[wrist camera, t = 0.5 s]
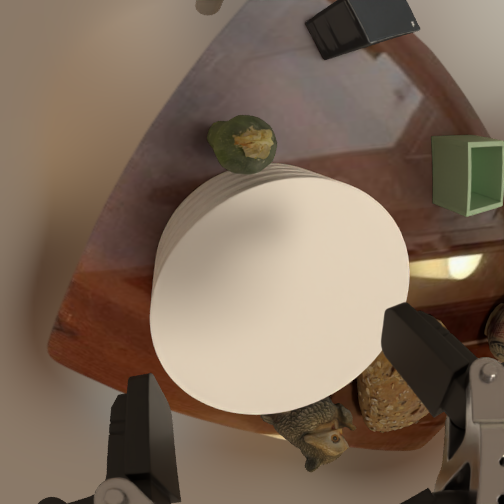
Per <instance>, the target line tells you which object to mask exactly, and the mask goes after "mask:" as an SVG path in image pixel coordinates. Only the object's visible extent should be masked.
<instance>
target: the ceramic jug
mask: <svg viewBox="0 0 504 504" xmlns="http://www.w3.org/2000/svg"><path fill="white" fill-rule="evenodd" d="M484 334H485V335H487V337H488V343H489V349H490V351H491V352H492V354H493V355H494V356H495V357H496V358H497V359H498V360H500V361H501V362H504V303H501V304H499V305H498V306H497V307H496V308H495V309H494V310H493V311H492V313H491V315H490V316H489V318H488V321H487V323H486V327H485V333H484Z"/></svg>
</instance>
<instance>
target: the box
mask: <svg viewBox="0 0 504 504" xmlns="http://www.w3.org/2000/svg"><path fill="white" fill-rule="evenodd" d="M306 26H307V28H308V30H309V31H310V33H311V35H312V37H313V39H314V41H315V43H316V44H317V46H318V48H319V50H320V52H321V54H322V56H323V58H324V60H327V59H330V58H333V57H336V56H340V55H343V54H346V53H349V52H352V51H355V50H358V49H361V48H364V47H367V46H371V45H374V44H377V43H380V42H383V41H386V40H389V39H393V38H396V37H399V36H402V35H406V34H410V33H413V32H416V31H419V30H420V27H419V25H418V23H417V21H416V19H415V17H414V15H413V13H412V11H411V9H410V7H409V5H408V3H407V1H406V0H337V1H336V2H334V3H333V4H331V5H330V6H328V7H327V8H325V9H324V10H322V11H321V12H319V13H318V14H316V15H315V16H314V17H312V18H311V19H310V20H308V21H307V22H306Z"/></svg>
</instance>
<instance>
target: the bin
mask: <svg viewBox="0 0 504 504" xmlns="http://www.w3.org/2000/svg"><path fill="white" fill-rule="evenodd" d="M431 141H432V165H433V204H436V205H438V206H441V207H444V208H446V209H448V210H451V211H453V212H456V213H458V214H461V215H463V216H465V217H468V216H471V215H474V214H478V213H481V212H484V211H488V210H491V209H494V208H497V207H501V206H502V205H503V191H504V141H501V140H497V139H492V138H486V137H480V136H474V135H452V136H431Z"/></svg>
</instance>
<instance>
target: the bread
mask: <svg viewBox="0 0 504 504" xmlns="http://www.w3.org/2000/svg"><path fill="white" fill-rule="evenodd" d="M436 320H437V319H436ZM437 321H438V322H439V323H441V324H442V322H441V321H439V320H437ZM442 327H445V326H444V325H443V324H442ZM445 328H446V327H445ZM357 387H358V399H359V405H360V409H361V410H360V411H361V412H362V416H363V420H364V422H365V424H366V425H367V427H368V428H369V429H371V430H373V431H380V432H383V433H384V431H387V432H388V431H391V430H396V429H401V428H402V427H404V426H409V425H411V424H413V423H417V422H419V421H418V420H419V419H421V418H422V417H424V416H425V415H427V413H428V412H429V411H428V409H427V408H426V407H425V406H424V404H423V403H422V402H421V401H420V399H419V398H418V397H417V395H416V394H415V393H414V392H413V390H412V389H411V388H410V387H409V385H408V384H407V383H406V382H405V380H404V379H403V378H402V377H401V375H400V374H399V373H398V372H397V370H396V369H395V368H394V367H393V365H392V364H391V363H390V362H389V360H388V359H387V358H386V357H385V355H384V353H383V351H381V352H380V354H379V355H378V356H377V357H376V358H375V360H374V361H373V362H372V363H371V364H370V365H369V366H368V367H367V368H366V369H365V370H364V371H363V372H362V373H361V374H360V375H358V376H357Z"/></svg>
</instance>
